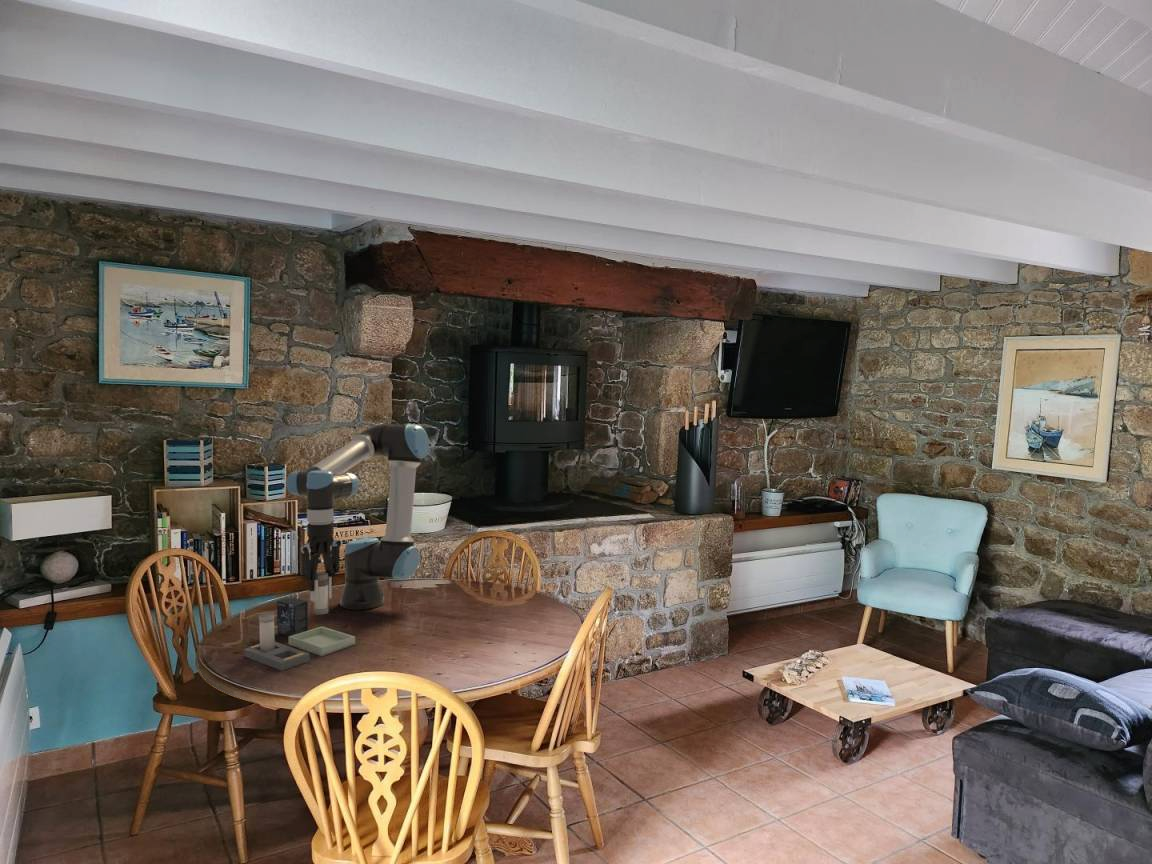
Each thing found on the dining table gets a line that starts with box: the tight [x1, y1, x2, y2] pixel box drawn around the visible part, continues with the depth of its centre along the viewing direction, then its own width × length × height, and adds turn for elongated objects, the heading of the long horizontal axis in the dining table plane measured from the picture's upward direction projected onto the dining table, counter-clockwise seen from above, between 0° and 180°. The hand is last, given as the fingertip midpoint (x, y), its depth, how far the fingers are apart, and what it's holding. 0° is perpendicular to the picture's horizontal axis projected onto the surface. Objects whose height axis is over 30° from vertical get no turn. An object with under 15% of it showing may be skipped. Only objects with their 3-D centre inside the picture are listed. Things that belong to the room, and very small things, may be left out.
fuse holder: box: [243, 641, 311, 672], centre depth 222 cm, size 18×9×2 cm, turn 55°
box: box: [276, 596, 309, 637], centre depth 244 cm, size 8×6×11 cm
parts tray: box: [287, 626, 356, 657], centre depth 234 cm, size 16×12×2 cm
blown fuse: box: [313, 571, 329, 616], centre depth 233 cm, size 4×4×12 cm
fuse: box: [258, 612, 276, 652], centre depth 224 cm, size 4×4×12 cm
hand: (321, 599), depth 233 cm, fingers closed on blown fuse, 4 cm apart
